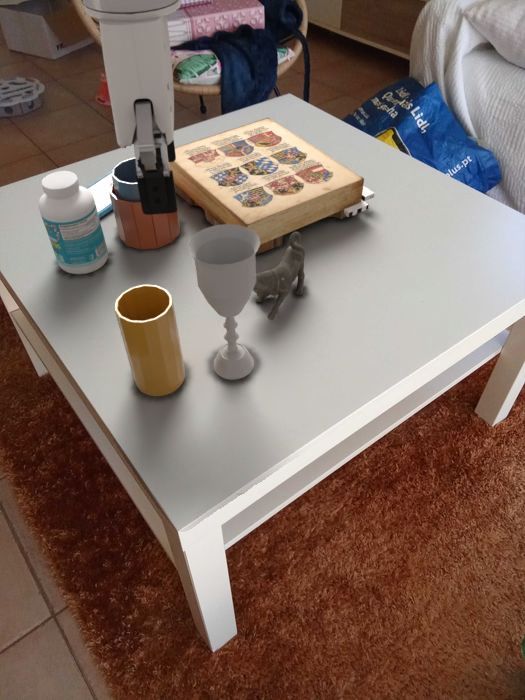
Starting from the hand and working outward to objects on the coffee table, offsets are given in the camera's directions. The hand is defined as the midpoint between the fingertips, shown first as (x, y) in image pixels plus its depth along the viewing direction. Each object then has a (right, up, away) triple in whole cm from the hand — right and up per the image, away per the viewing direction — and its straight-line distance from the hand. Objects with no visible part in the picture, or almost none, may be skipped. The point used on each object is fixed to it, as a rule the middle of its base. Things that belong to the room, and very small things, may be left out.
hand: (160, 185), depth 56 cm
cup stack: (-8, +2, +33) cm, 34 cm away
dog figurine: (+12, -9, +22) cm, 27 cm away
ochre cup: (-2, -20, +12) cm, 23 cm away
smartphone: (-17, +9, +41) cm, 45 cm away
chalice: (+7, -18, +14) cm, 24 cm away
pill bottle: (-17, -3, +29) cm, 33 cm away
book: (+11, +9, +40) cm, 42 cm away
